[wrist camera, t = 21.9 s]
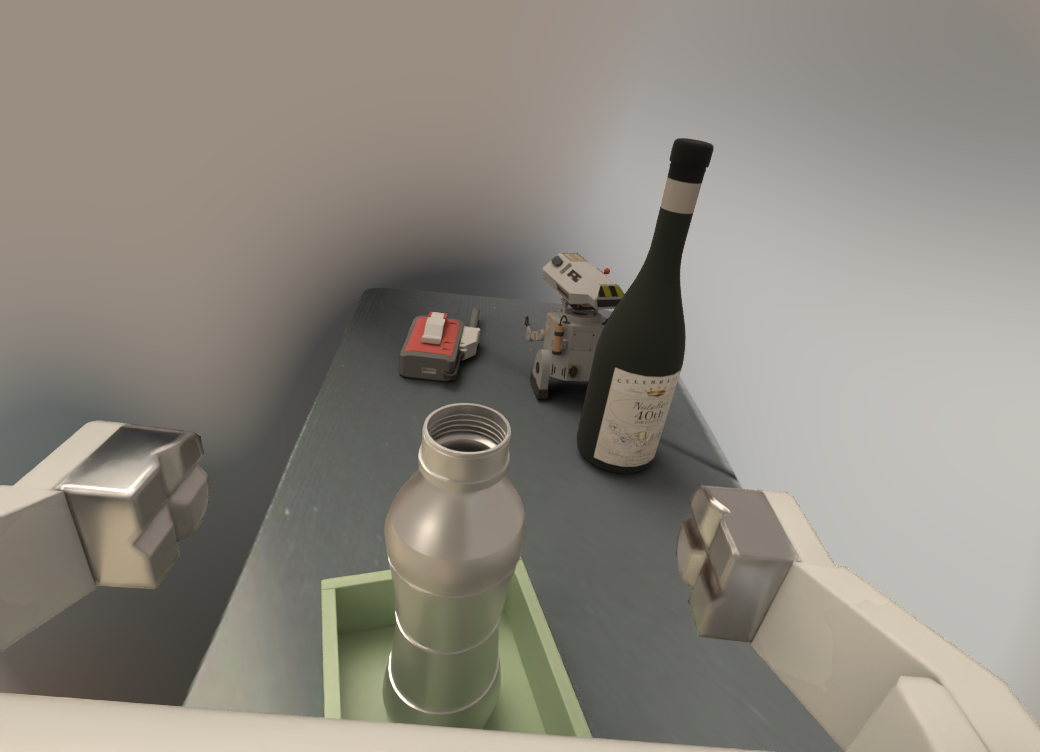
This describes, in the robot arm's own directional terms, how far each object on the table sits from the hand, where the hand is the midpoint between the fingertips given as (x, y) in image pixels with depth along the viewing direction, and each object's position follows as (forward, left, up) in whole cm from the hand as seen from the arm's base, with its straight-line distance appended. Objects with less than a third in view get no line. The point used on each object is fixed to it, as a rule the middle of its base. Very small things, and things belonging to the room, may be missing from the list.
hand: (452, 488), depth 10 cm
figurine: (+48, -26, -28) cm, 61 cm away
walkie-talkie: (+58, -13, -28) cm, 65 cm away
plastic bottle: (+12, -4, -27) cm, 30 cm away
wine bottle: (+34, -26, -28) cm, 51 cm away
